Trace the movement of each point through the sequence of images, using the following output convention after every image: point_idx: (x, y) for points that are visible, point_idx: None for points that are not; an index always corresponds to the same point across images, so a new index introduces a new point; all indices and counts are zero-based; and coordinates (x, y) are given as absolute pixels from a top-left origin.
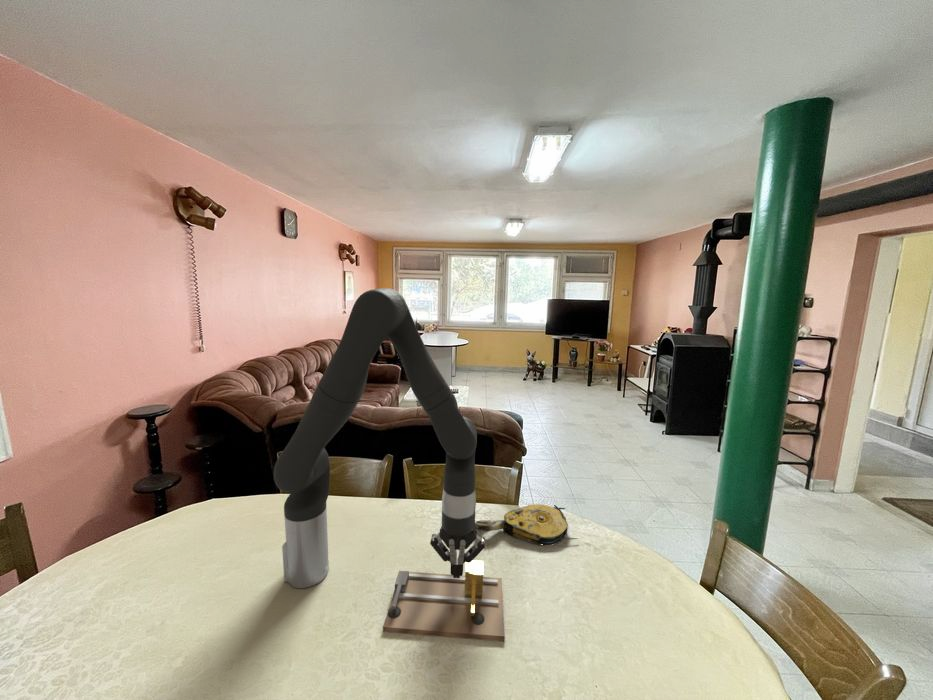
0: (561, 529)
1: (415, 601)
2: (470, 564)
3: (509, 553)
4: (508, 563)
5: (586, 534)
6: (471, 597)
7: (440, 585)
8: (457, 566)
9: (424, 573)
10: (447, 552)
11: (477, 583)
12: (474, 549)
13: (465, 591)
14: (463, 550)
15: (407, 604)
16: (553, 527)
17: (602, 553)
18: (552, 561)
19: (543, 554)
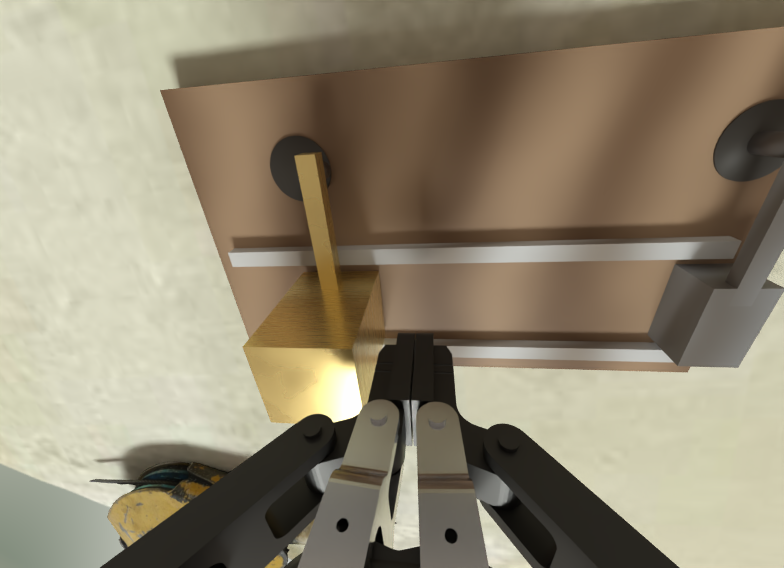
0: (117, 511)
1: (620, 225)
2: (335, 404)
3: (268, 441)
4: (262, 411)
5: (93, 486)
6: (330, 248)
7: (493, 317)
8: (405, 389)
9: (568, 366)
10: (494, 495)
11: (299, 311)
12: (224, 544)
13: (370, 284)
14: (316, 554)
15: (668, 203)
16: (137, 519)
17: (33, 441)
18: (141, 419)
19: (173, 438)
